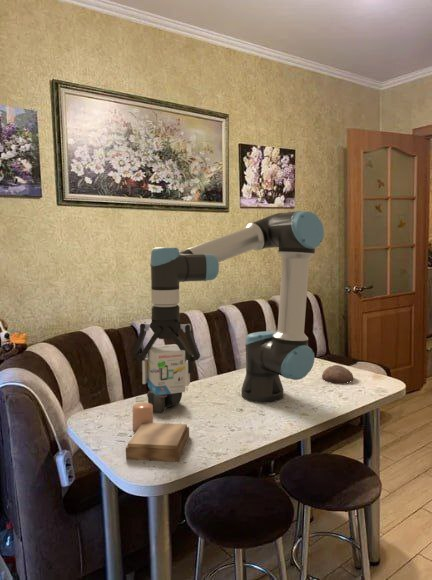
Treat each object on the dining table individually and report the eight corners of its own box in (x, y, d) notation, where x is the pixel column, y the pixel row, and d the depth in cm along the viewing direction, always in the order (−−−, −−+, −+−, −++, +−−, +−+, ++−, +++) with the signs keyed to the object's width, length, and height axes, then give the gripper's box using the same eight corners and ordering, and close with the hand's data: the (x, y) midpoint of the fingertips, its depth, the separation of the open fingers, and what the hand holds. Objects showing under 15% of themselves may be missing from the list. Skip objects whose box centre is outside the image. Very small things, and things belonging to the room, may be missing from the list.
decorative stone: (326, 373, 182) (327, 360, 181) (356, 377, 176) (356, 364, 175) (317, 381, 172) (317, 368, 171) (348, 386, 166) (348, 372, 165)
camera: (174, 414, 142) (173, 385, 141) (145, 412, 144) (144, 383, 143) (186, 400, 155) (185, 372, 153) (159, 398, 157) (158, 371, 156)
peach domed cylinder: (154, 424, 134) (154, 402, 134) (150, 433, 128) (150, 410, 128) (135, 424, 135) (134, 402, 134) (130, 432, 129) (130, 409, 128)
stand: (189, 436, 126) (188, 423, 125) (178, 461, 112) (178, 446, 111) (142, 434, 127) (141, 421, 127) (126, 458, 114) (125, 444, 113)
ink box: (155, 396, 115) (154, 352, 114) (147, 386, 123) (146, 345, 121) (186, 392, 118) (185, 349, 117) (176, 382, 126) (176, 343, 125)
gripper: (210, 303, 120) (210, 381, 122) (128, 302, 123) (129, 377, 125) (206, 307, 112) (206, 390, 115) (118, 305, 116) (120, 385, 118)
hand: (166, 383), depth 120 cm, fingers closed on ink box, 11 cm apart
